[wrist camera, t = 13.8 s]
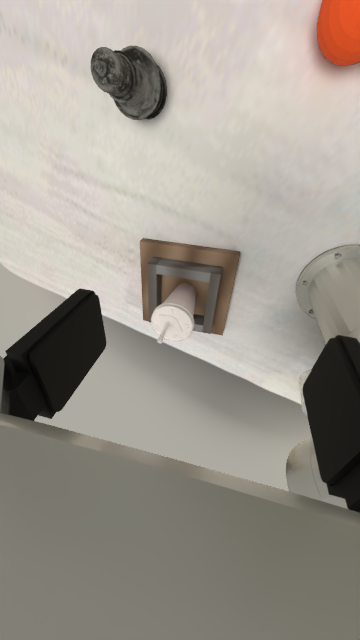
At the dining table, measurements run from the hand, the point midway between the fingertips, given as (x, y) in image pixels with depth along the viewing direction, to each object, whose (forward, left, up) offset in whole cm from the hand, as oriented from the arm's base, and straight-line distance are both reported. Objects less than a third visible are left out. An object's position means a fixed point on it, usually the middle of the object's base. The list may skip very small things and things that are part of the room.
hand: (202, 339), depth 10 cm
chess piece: (+13, -11, -31) cm, 35 cm away
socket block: (+6, +15, -30) cm, 34 cm away
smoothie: (+6, +15, -29) cm, 33 cm away
